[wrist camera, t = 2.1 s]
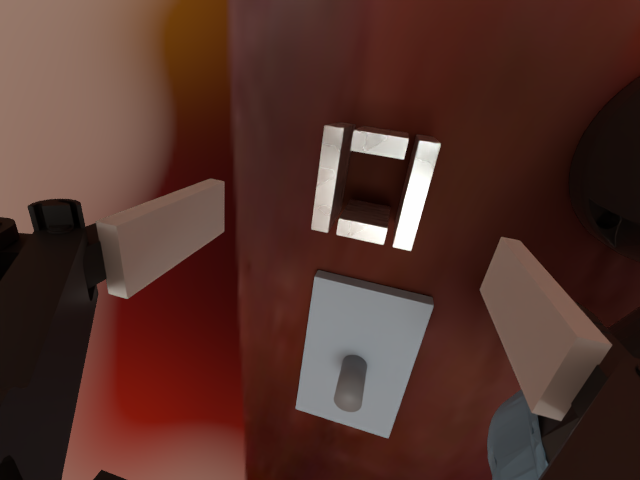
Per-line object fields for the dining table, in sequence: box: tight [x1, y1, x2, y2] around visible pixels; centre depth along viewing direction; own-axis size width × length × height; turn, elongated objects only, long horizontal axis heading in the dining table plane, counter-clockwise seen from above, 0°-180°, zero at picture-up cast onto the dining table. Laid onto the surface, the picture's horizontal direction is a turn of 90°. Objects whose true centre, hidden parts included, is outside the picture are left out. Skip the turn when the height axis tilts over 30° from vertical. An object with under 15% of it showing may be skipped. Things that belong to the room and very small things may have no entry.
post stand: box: [296, 270, 434, 438], centre depth 34 cm, size 12×20×6 cm, turn 172°
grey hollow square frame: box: [311, 122, 441, 251], centre depth 26 cm, size 8×8×6 cm
